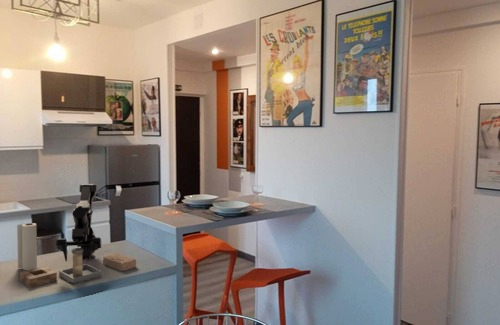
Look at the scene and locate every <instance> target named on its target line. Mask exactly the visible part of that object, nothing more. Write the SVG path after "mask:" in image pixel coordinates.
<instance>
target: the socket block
mask: <svg viewBox="0 0 500 325" xmlns="http://www.w3.org/2000/svg"><path fill="white" fill-rule="evenodd" d="M57 275H58V273H57V271H55V270H53V269H51V268H49V267H48V266H42V267H37V268H36V269H32V270H23V271H21V272H19V281H21V282H22V283H23V284H25V285H26V286H28V287H29V288H33V287H36V286H41V285H44V284H48V283H51V282H55V281H57V280H58V277H57Z"/></svg>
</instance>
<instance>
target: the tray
mask: <svg viewBox="0 0 500 325" xmlns="http://www.w3.org/2000/svg"><path fill="white" fill-rule="evenodd" d="M82 267H83V276H79V277H75V278H73V266H72V267H68V268H65V269H62V270H58V276H59V277H60V278H61V277H62V278H61V279H63V280H65V281H67V282H68V281H69V282H68V283H70V284H72V285H75V284H79V283H83V282H85V281H89V280H93V279H97V278H101V277H102V270H100V269H99V268H96V267H94V266H92V265H89V264H88V263H86V264H82ZM82 281H83V282H82Z"/></svg>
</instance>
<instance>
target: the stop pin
mask: <svg viewBox="0 0 500 325" xmlns="http://www.w3.org/2000/svg"><path fill="white" fill-rule="evenodd" d="M82 252H83V248H81V247H77V248H76V247H75V248H72V249H71V254H72V267H73V278H75V277H79V276H83V267H82V265H83V259H82Z"/></svg>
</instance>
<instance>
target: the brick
mask: <svg viewBox="0 0 500 325" xmlns="http://www.w3.org/2000/svg"><path fill="white" fill-rule="evenodd" d="M102 258H103V260H102V265H104V266H106V265H107V267H110V268H112V269H114V270H117V271H119V272H121V271H128V270H131V269H134V268H136V267H137V259H136V258H133V257H128V256H126V255H124V254H121V253H117V252H115V253H111V254H107V255H104V256H103V257H102Z"/></svg>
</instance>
